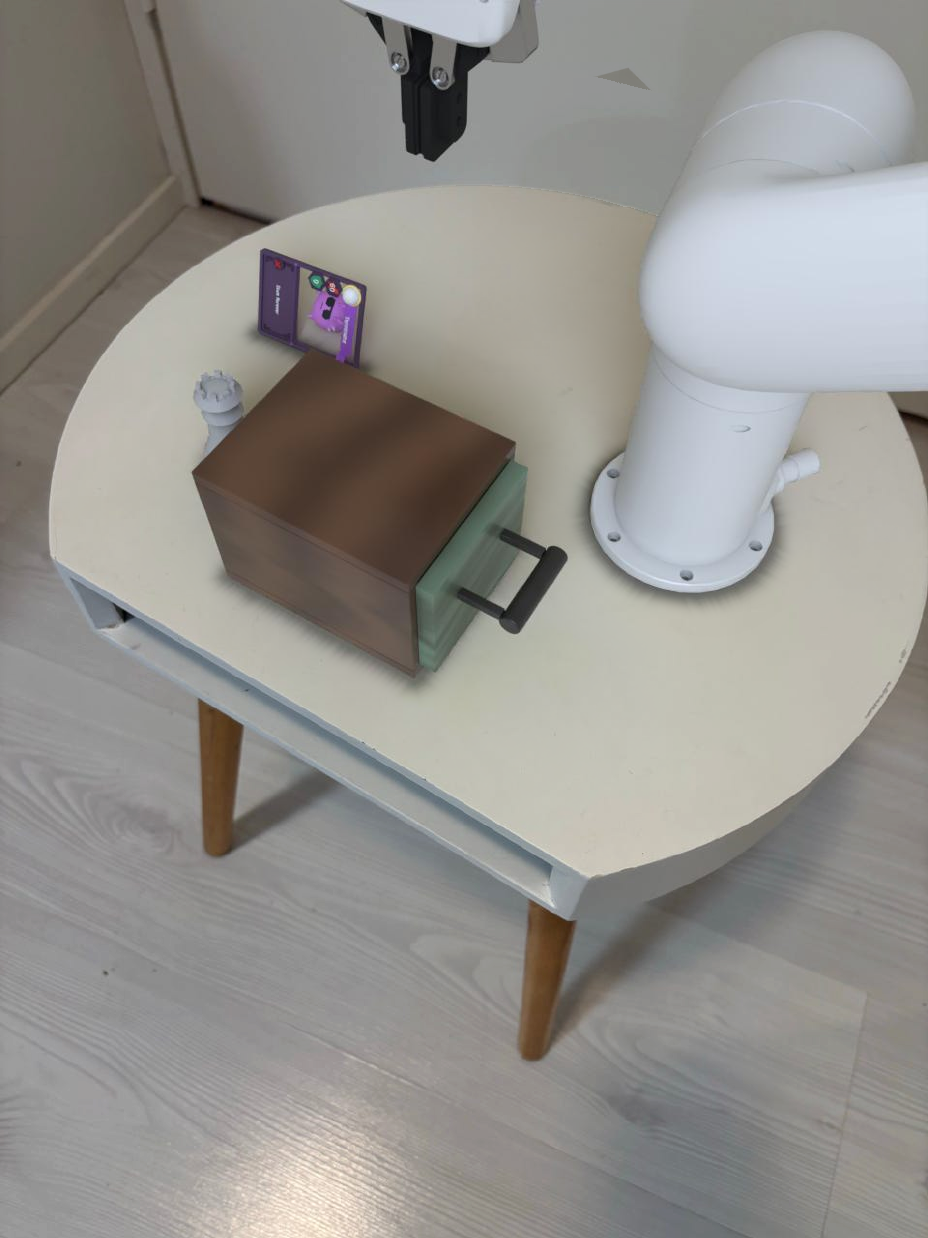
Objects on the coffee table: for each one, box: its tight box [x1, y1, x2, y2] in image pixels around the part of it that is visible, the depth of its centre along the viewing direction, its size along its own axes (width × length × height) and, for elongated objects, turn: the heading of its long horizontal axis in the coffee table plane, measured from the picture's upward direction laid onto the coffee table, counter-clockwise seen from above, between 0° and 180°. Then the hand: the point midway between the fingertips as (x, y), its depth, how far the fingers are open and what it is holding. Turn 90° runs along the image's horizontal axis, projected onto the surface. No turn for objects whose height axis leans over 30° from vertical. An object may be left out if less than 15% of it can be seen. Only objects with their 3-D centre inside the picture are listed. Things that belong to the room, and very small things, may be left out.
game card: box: [257, 247, 368, 370], centre depth 74 cm, size 7×5×9 cm
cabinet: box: [190, 348, 517, 679], centre depth 61 cm, size 15×12×11 cm
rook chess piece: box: [192, 369, 245, 459], centre depth 66 cm, size 4×4×8 cm
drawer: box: [415, 460, 569, 673], centre depth 60 cm, size 18×11×9 cm, turn 59°
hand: (434, 143), depth 51 cm, fingers closed
